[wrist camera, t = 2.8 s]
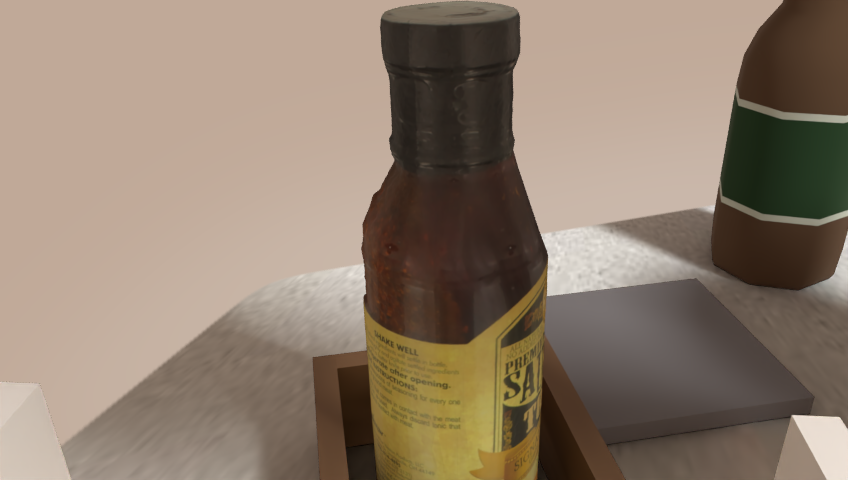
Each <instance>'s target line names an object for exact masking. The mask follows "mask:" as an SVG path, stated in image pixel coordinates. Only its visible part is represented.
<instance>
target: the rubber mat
mask: <svg viewBox="0 0 848 480" xmlns="http://www.w3.org/2000/svg"><path fill="white" fill-rule="evenodd" d="M544 332H545V333H544V334H545V336H546V337H547V339H548V341H549V343H550V345H551V346H552V348H553V350H554V352H555V354H556V355H557V357H558V359H559V361H560V363H561V364H562V366H563V368H564V370H565V372H566V373H567V375H568V377H569V379H570V381H571V382H572V384H573V386H574V388H575V390H576V391H577V393H578V395H579V397H580V399H581V400H582V402H583V404H584V406H585V408H586V409H587V411H588V413H589V415H590V417H591V418H592V420H593V422H594V424H595V426H596V427H597V429H598V431H599V433H600V435H601V436H602V438H603V440H604V442H605V444H613V443H619V442H626V441H633V440H639V439H646V438H652V437H659V436H666V435H672V434H679V433H685V432H692V431H698V430H705V429H712V428H718V427H725V426H731V425H738V424H745V423H751V422H758V421H764V420H771V419H777V418H784V417H791V416H792V415H804V414H810V411H811V407H812V404H813V400H814V396H813V395H812V394H811V393H810V392H809V391H808V390H807V389H806V388H805V387H804V386H803V385H802V384H801V383H800V382H799V381H798V380H797V379H796V378H795V377H794V376H793V375H792V374H791V373H790V372H789V371H788V370H787V369H786V368H785V367H784V366H783V365H782V364H781V363H780V362H779V361H778V360H777V359H776V358H775V357H774V356H773V355H772V354H771V353H770V352H769V351H768V350H767V349H766V348H765V347H764V346H763V345H762V344H761V343H760V342H759V341H758V340H757V339H756V338H755V337H754V336H753V335H752V334H751V333H750V332H749V331H748V330H747V329H746V328H745V327H744V326H743V325H742V324H741V323H740V322H739V321H738V320H737V319H736V318H735V317H734V316H733V315H732V314H731V313H730V312H729V311H728V310H727V309H726V308H725V307H724V306H723V305H722V304H721V303H720V302H719V301H718V300H717V299H716V298H715V297H714V296H713V295H712V294H711V293H710V292H709V291H708V290H707V289H706V288H705V287H704V286H703V285H702V284H701V283H700V282H699V281H698V280H697V279H696V278H695V279H687V280H679V281H670V282H662V283H654V284H646V285H637V286H629V287H621V288H612V289H604V290H596V291H588V292H579V293H571V294H563V295H555V296H546V312H545V327H544Z"/></svg>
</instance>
